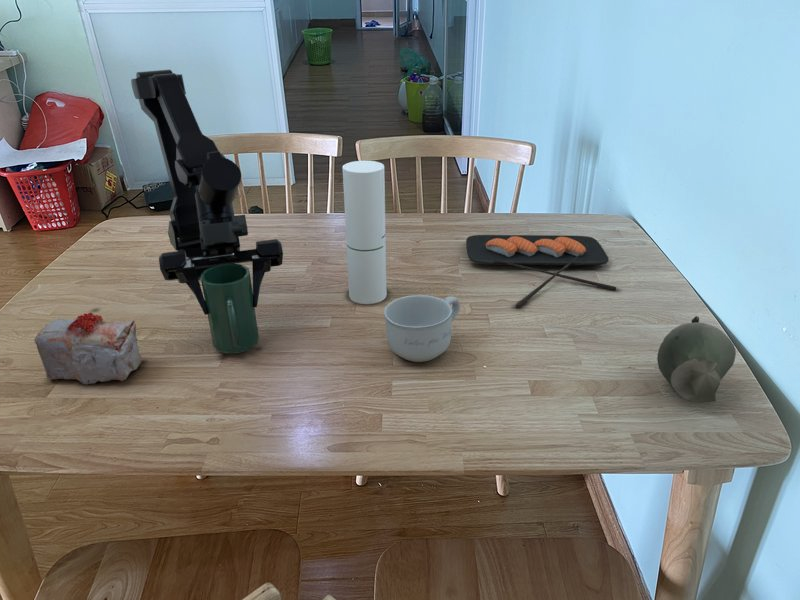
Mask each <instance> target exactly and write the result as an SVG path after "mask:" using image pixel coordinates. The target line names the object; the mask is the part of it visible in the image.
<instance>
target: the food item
mask: <svg viewBox="0 0 800 600" xmlns="http://www.w3.org/2000/svg"><path fill="white" fill-rule="evenodd" d="M34 344H35V345H36V349H37V351H38V355H39V357H40V360H41V363H42V365H43V368H44V370H45V375H46V377H47V379H48V380H49V381H52V380H59V379H61V380H78V382H80V383H81V384H83V385H85V386H87V385H89V384H91V385H92V384H96V383H97V382H102V383H103V382H110V381H120V382H123V381H126V380H127V379H128V377H129V375H130V374H131V373H132V372H133V371H135V370H137V369H138V368H139V366H140V365H141V363H142V356H141V354H140V348H139V347H140V346H139V344H138V338H137V325H136V322H135V320H134V319H133V320H132V319H131V320H105V319H104V318H103V316H102V315H98V314H93V312H88V313H83V315H82V314H80V315H77V317H76V318H75V319H71V318H67V319H65V318H55V319H54V320H52V321H50V322H48V323H47V324H45V326H44V327H43V328H42V329H41V330H40V331H38V333H37V334H36V335H35V337H34Z"/></svg>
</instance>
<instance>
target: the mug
mask: <svg viewBox="0 0 800 600" xmlns="http://www.w3.org/2000/svg"><path fill="white" fill-rule="evenodd" d="M200 282H201V288H202V293H203V296H204V300H205V303H206V308H207V315H206V316H207V319H208V324H209V330H210V335H211V341H212V345H213V348H214V349H215V350H216V351H218V352H220V353H223V354H238V353H244V352H246V351H249V350H250V349H252V348H254V347H255V346H256V345H257V344H258V342H259V339H260V337H259V335H260V334H259V328H258V320H257V314H256V307H254V300H253V283H252V278H251V272H250V268H249V267H247V266H246V265H244V264H241V263H236V264H221V265H217V266H213V267H210V268H209V269H207V270H205V271H204V272H203V273H202V274H201V277H200Z"/></svg>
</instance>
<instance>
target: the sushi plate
mask: <svg viewBox="0 0 800 600" xmlns="http://www.w3.org/2000/svg"><path fill="white" fill-rule="evenodd" d="M465 246H466V251H467V255H468V259H469V260H470V261H471V262H472V263H475V264H481V265H497V266H498V265H499V266H501V265H502V266H503V265H504V266H514V267H518V268H522V269H527V270H531V271H535V272H537V273H542V274H547V275H550V277H549V278H548V279H546V280H545V281H544V282H543V283H541V284H540V285H538V286H537V287H536V288H535V289H533V290H532V291H531V292H529V294H527V295H526V296H525V297H523V298H522V299H521V300H520V301H519V302H517V303H516V304H515V308H517V309H519V308H520V307H521V306H523V305H524V304H526V303H527V302H528V301H529V300H530V299H531V298H533V296H535V295H536V294H537V293H538V292H540V290H542V289H543V288H544V287H545V286H546V285H547V284H549V283H550V282H551V281H552V280H553V279H554V278H556V277H559V278H563V279H567V280H570V281H575V282H578V283H583V284H586V285H591V286H595V287H598V288H603V289H606V290H611V291H616V290H617V286H615V285H609V284H605V283H601V282H596V281H592V280H588V279H584V278H578V277H575V276H570V275H566V274H561V273H562V272H563V271H564V270H566V269H567V267H569V266H602V265H606V264H607V263H608V262H609V256H608V255H607V252H606V251H605V249H604V248H603V246H602V244H601V243H600V242H599V241H598V240H597V239H595V238H594V237H592V236H586V235H557V234H553V235H552V234H547V235H544V234H541V235H540V234H536V235H535V234H474V235H469V236H468V237H466V240H465ZM530 266H563V267H561V268H560V269H559V270H558V271H557V272H551V271H548V270H543V269H539V268H535V267H530Z"/></svg>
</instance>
